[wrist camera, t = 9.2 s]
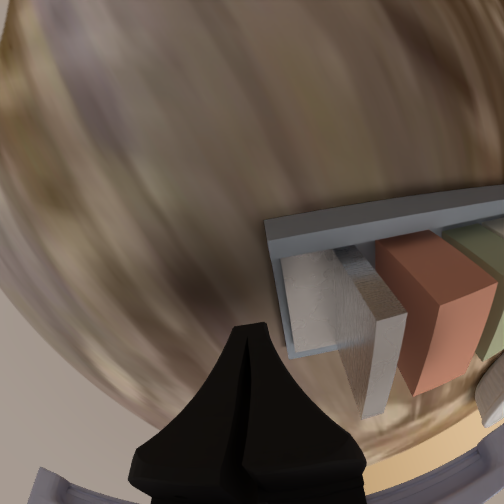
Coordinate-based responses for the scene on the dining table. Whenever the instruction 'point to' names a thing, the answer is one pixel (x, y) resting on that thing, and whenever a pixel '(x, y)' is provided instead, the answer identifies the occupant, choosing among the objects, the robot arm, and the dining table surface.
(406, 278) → the rust book
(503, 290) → the olive block
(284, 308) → the shelf
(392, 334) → the bookend
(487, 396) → the ramekin
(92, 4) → the dining table surface
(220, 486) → the robot arm
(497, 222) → the cream book
